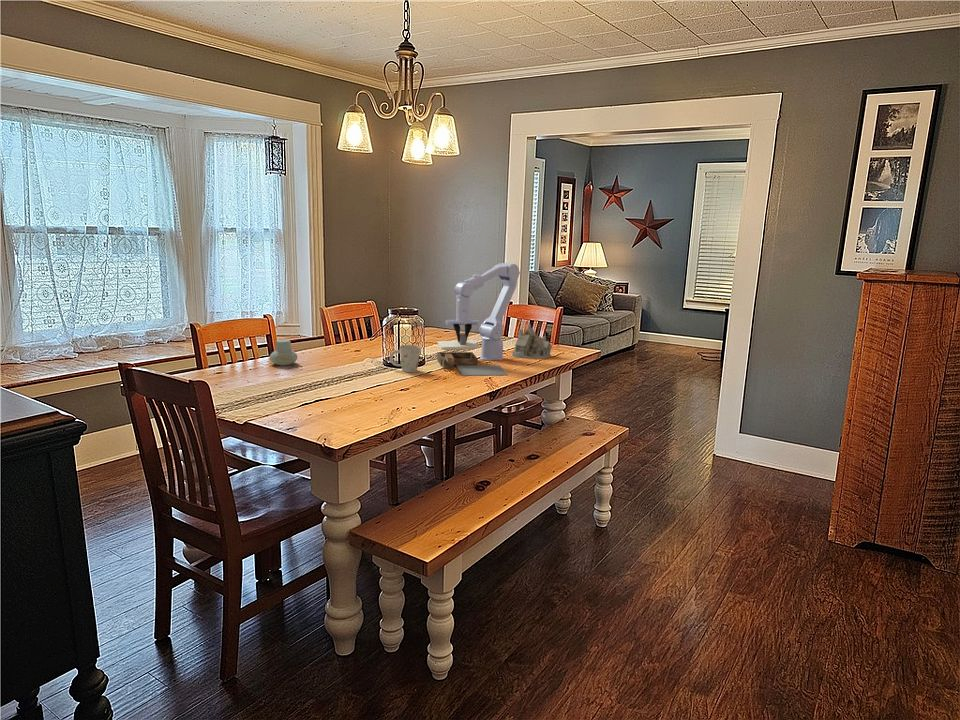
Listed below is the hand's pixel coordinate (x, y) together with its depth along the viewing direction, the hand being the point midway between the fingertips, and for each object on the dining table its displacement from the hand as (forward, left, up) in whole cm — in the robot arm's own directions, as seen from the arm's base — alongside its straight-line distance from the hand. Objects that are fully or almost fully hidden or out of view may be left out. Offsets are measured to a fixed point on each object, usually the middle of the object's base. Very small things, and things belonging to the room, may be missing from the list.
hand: (462, 341), depth 278 cm
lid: (+2, 0, -2) cm, 3 cm away
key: (+8, +15, -5) cm, 18 cm away
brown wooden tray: (+2, +3, -9) cm, 10 cm away
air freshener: (+75, +2, -10) cm, 76 cm away
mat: (-6, +16, -9) cm, 19 cm away
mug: (+26, +15, -10) cm, 32 cm away
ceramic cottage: (-35, -13, -10) cm, 39 cm away
